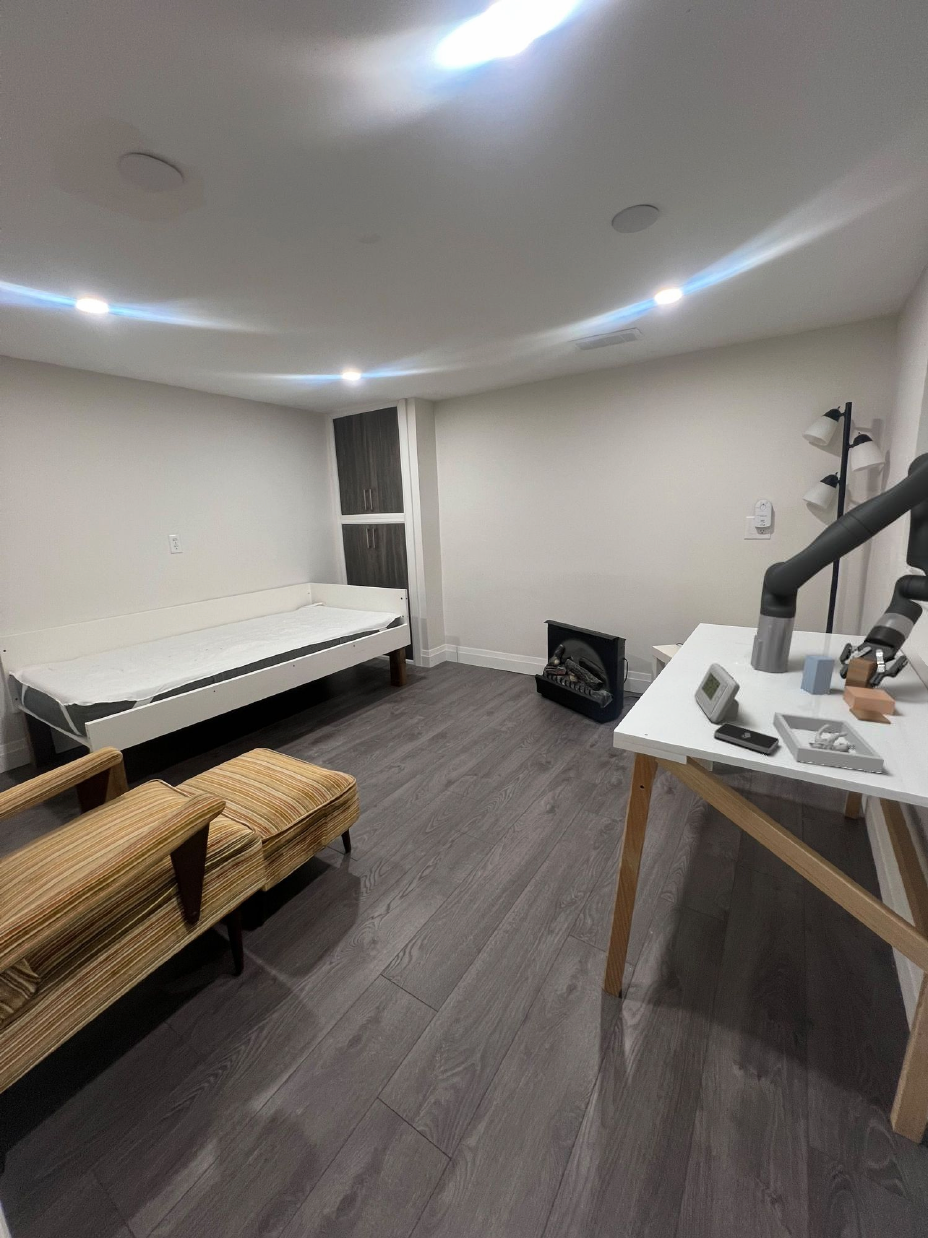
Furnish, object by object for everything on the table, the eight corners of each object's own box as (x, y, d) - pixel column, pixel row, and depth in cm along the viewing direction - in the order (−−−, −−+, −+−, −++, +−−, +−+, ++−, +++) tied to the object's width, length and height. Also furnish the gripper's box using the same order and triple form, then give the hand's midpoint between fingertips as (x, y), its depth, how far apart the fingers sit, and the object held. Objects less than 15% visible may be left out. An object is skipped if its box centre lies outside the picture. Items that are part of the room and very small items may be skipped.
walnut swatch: (859, 720, 115) (859, 718, 115) (849, 710, 121) (849, 708, 121) (890, 724, 113) (890, 721, 113) (878, 713, 119) (878, 711, 119)
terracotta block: (852, 711, 121) (855, 696, 120) (842, 700, 128) (845, 685, 127) (892, 716, 118) (895, 701, 117) (880, 704, 125) (883, 690, 124)
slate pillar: (812, 694, 131) (818, 659, 129) (800, 688, 135) (806, 654, 133) (828, 694, 131) (835, 659, 129) (816, 688, 135) (822, 654, 133)
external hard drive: (768, 758, 99) (769, 749, 98) (711, 739, 107) (713, 731, 106) (778, 747, 104) (779, 738, 103) (723, 730, 111) (724, 722, 111)
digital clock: (693, 697, 129) (697, 659, 127) (731, 702, 126) (736, 664, 123) (696, 722, 115) (701, 680, 112) (739, 728, 111) (745, 685, 109)
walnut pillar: (862, 699, 127) (869, 663, 125) (843, 694, 131) (849, 659, 129) (871, 697, 129) (878, 661, 127) (852, 691, 133) (859, 656, 131)
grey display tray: (796, 761, 97) (798, 748, 96) (772, 724, 113) (774, 712, 113) (881, 774, 92) (884, 759, 92) (844, 733, 109) (846, 720, 108)
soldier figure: (864, 759, 100) (847, 759, 93) (839, 767, 103) (821, 767, 96) (841, 723, 104) (823, 721, 97) (818, 732, 107) (799, 730, 100)
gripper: (855, 619, 135) (823, 665, 133) (919, 631, 123) (885, 682, 121) (862, 635, 139) (831, 680, 137) (925, 648, 126) (892, 698, 124)
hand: (856, 681), depth 129 cm, fingers open, 6 cm apart
